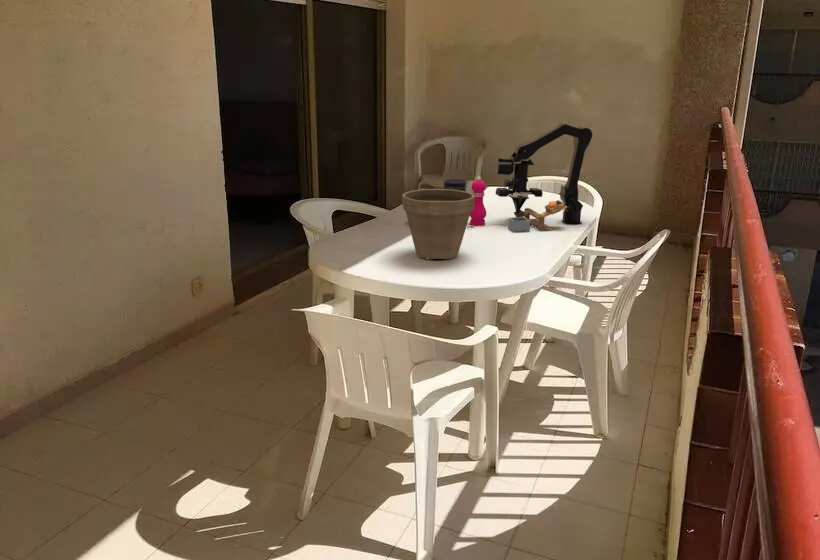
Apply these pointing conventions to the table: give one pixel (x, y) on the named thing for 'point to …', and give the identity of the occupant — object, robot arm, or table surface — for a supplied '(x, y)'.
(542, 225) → the frame
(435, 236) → the plant pot
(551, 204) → the ball
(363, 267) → the table surface
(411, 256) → the table surface
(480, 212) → the pepper mill
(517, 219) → the grey open box
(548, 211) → the catapult lever
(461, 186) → the storage jar
